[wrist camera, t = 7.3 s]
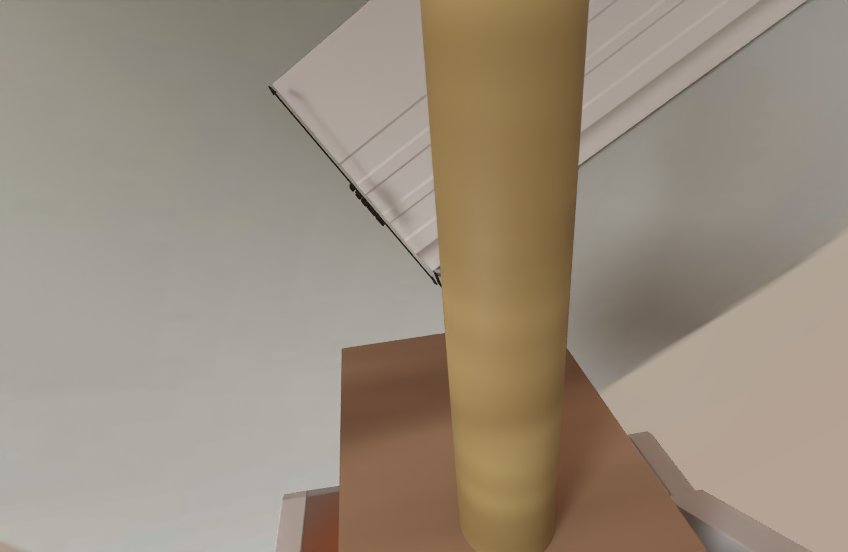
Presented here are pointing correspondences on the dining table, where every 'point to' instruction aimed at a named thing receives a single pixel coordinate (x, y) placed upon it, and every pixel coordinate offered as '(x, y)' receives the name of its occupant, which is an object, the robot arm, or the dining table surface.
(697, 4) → the baseboard molding
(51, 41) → the dining table surface
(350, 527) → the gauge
